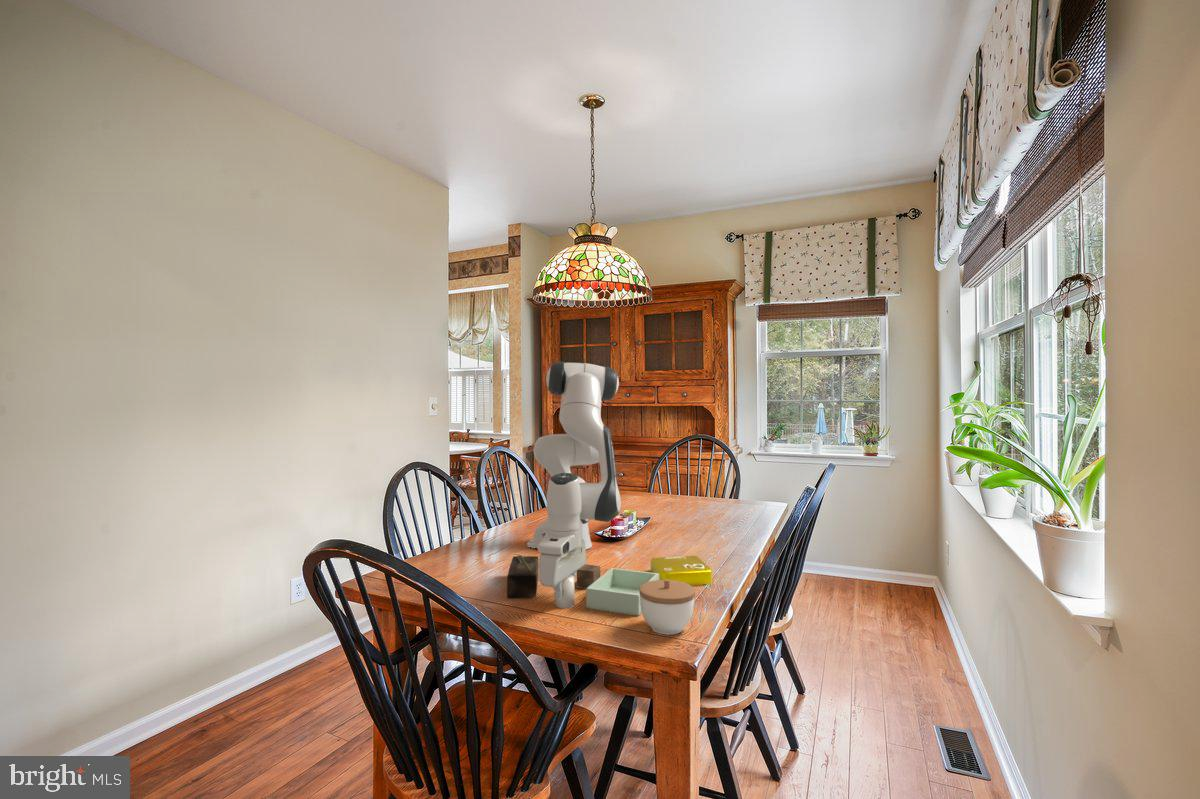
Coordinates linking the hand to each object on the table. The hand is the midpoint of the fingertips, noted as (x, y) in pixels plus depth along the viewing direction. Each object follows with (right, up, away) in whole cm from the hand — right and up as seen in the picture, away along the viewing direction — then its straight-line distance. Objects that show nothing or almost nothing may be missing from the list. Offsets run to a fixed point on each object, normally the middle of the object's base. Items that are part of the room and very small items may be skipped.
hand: (564, 593), depth 148 cm
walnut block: (+6, -3, +14) cm, 16 cm away
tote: (+15, -3, +3) cm, 16 cm away
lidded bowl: (+24, -3, -15) cm, 29 cm away
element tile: (+32, -3, +21) cm, 39 cm away
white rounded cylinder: (0, -3, 0) cm, 3 cm away
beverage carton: (-12, -3, +14) cm, 19 cm away
